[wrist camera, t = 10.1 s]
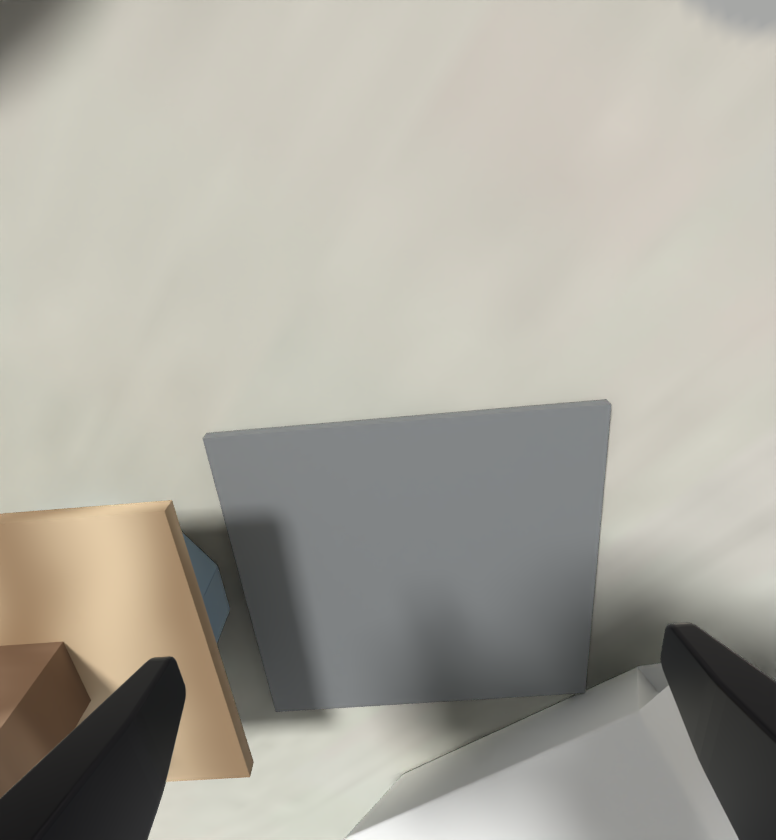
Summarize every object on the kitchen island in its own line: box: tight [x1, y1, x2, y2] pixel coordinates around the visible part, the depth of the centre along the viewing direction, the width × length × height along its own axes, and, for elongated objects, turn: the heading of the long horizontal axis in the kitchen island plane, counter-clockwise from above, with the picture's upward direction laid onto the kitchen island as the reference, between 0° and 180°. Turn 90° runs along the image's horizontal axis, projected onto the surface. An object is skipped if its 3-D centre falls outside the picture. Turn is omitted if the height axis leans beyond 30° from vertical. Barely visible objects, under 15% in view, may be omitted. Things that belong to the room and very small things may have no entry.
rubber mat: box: [203, 399, 611, 712], centre depth 24 cm, size 16×16×1 cm
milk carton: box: [344, 663, 739, 840], centre depth 23 cm, size 7×7×19 cm
